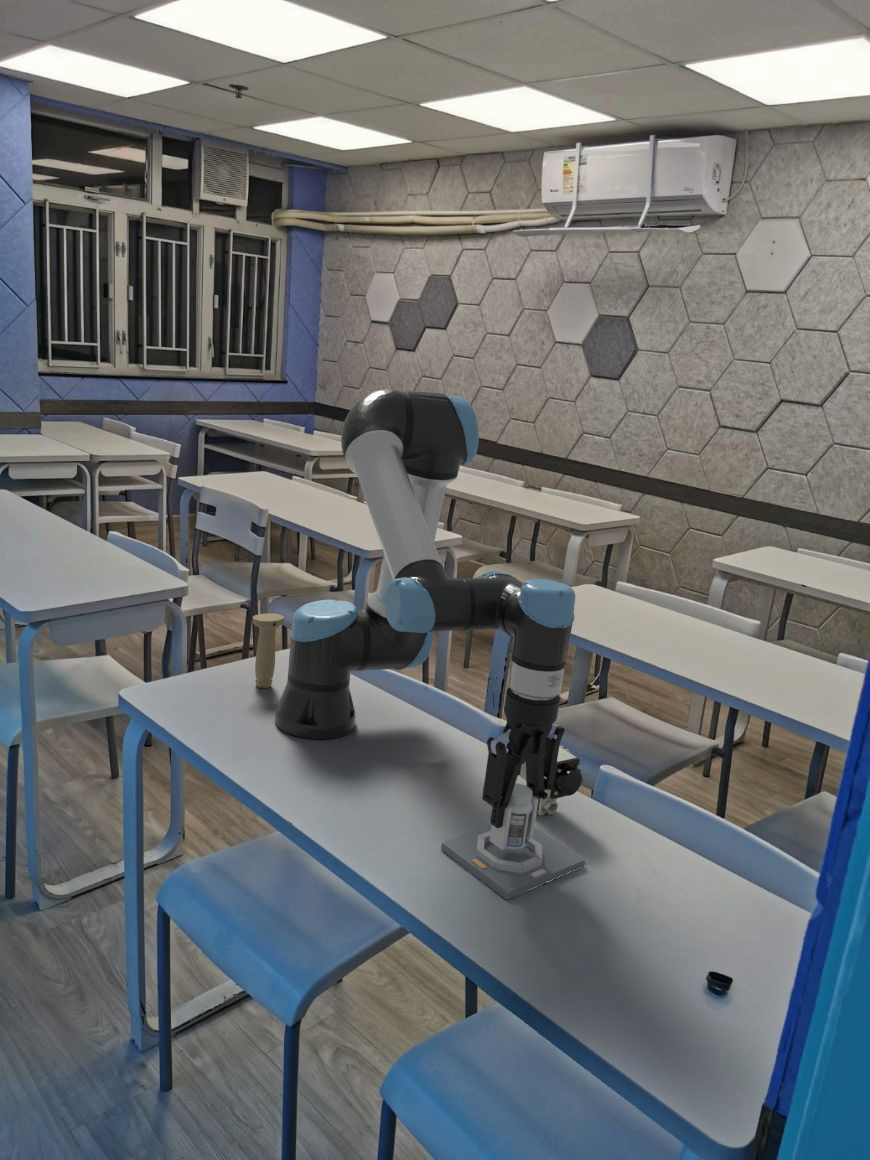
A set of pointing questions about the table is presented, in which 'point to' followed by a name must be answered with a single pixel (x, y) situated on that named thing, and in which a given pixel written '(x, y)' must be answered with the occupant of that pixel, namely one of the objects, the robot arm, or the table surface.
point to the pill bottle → (520, 817)
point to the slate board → (512, 861)
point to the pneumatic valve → (559, 780)
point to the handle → (266, 647)
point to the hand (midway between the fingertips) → (511, 839)
